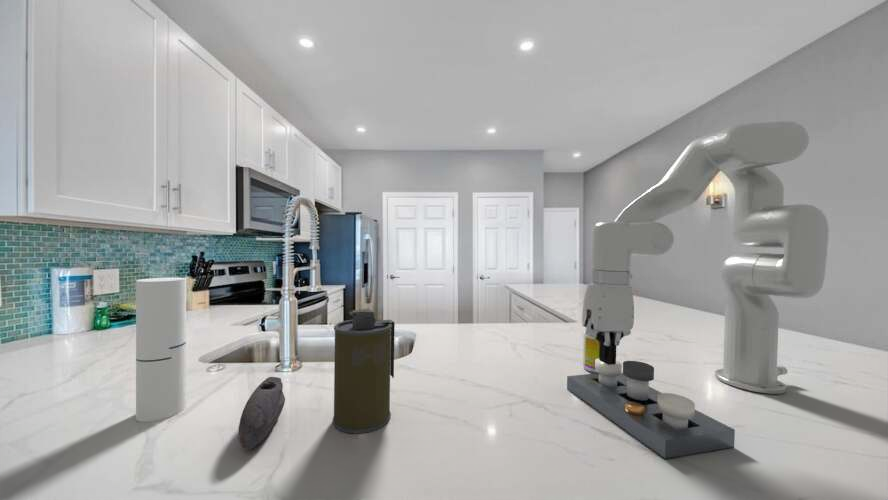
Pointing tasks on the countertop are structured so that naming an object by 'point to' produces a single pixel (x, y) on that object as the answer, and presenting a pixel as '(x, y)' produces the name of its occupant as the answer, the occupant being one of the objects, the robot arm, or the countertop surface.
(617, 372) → the knob
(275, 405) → the perforated stone tool
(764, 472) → the countertop surface
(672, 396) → the knob
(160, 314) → the cylindrical container
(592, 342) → the supplement bottle
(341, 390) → the canister
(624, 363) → the knob middle
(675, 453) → the panel
